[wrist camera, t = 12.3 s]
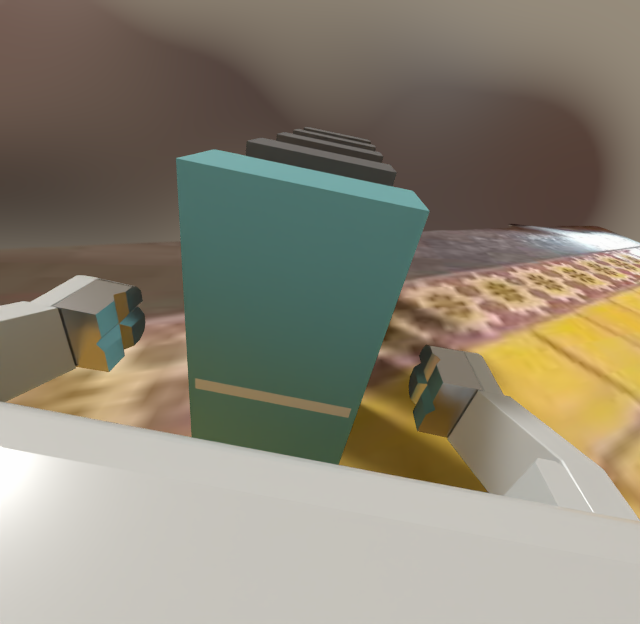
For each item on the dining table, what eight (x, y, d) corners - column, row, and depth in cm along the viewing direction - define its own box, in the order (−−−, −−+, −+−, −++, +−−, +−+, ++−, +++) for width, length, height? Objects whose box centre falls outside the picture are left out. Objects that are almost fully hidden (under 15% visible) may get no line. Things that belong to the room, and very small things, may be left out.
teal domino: (214, 446, 14) (214, 149, 8) (324, 467, 14) (412, 191, 8) (194, 491, 12) (176, 158, 6) (320, 515, 13) (429, 211, 6)
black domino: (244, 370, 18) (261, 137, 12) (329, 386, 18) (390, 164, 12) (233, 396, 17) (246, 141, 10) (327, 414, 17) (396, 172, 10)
